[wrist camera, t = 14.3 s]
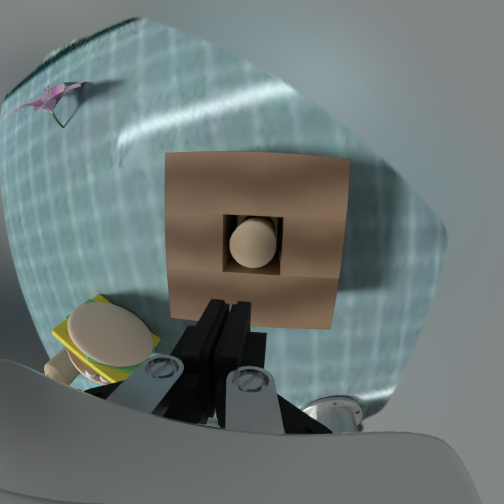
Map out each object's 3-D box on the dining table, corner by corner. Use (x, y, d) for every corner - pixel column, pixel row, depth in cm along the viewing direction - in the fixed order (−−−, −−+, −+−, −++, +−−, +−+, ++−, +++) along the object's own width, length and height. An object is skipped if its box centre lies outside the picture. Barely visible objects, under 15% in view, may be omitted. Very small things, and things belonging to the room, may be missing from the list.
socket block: (317, 292, 34) (330, 329, 25) (194, 284, 35) (170, 317, 26) (329, 164, 30) (350, 159, 21) (194, 159, 31) (165, 153, 22)
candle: (75, 336, 40) (44, 364, 31) (94, 358, 41) (66, 389, 31) (65, 346, 41) (37, 373, 32) (83, 367, 42) (57, 397, 33)
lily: (110, 102, 30) (80, 57, 21) (54, 163, 28) (13, 127, 19) (81, 87, 33) (56, 53, 24) (35, 138, 31) (3, 108, 22)
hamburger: (91, 319, 39) (48, 356, 27) (103, 283, 36) (54, 318, 25) (147, 361, 40) (116, 409, 28) (166, 329, 37) (132, 380, 26)
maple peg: (274, 249, 31) (274, 269, 24) (238, 246, 31) (228, 265, 24) (277, 213, 29) (277, 224, 23) (240, 211, 30) (230, 221, 23)
